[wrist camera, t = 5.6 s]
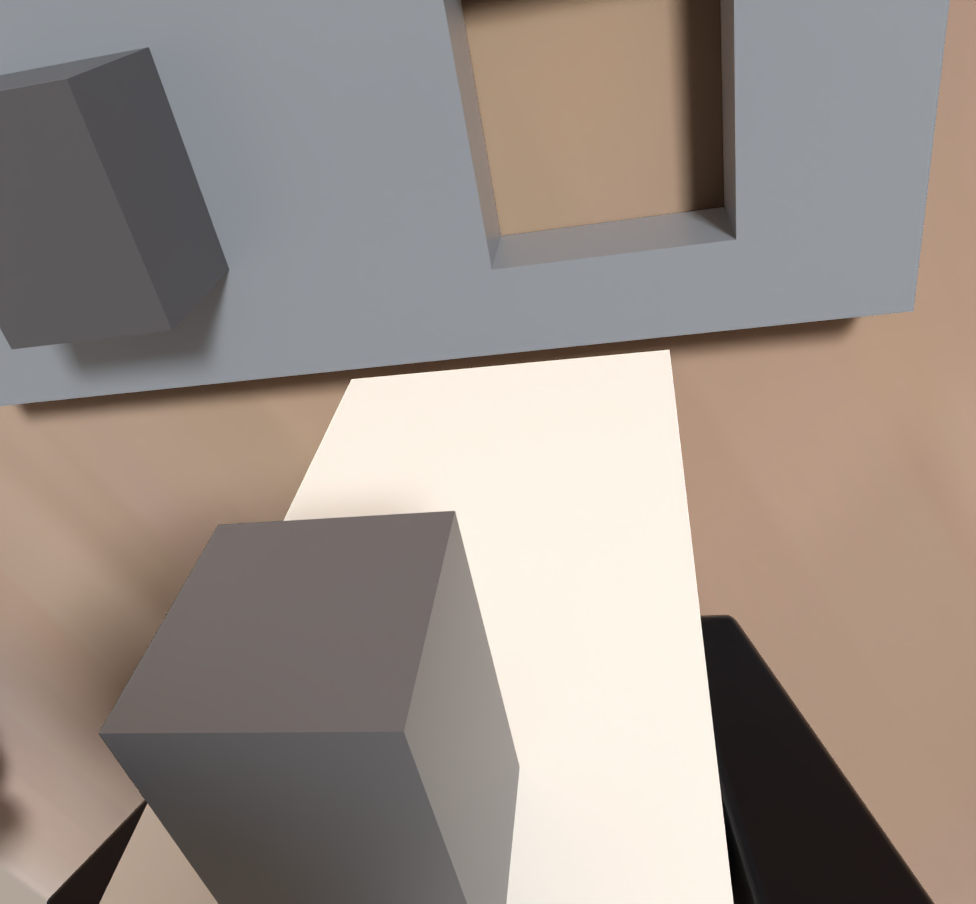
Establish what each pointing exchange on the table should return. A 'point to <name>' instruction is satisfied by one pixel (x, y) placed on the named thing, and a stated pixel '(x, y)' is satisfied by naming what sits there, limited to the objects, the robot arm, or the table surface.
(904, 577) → the table surface
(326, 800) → the plug
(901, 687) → the table surface
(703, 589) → the table surface
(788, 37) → the gray block with hole
